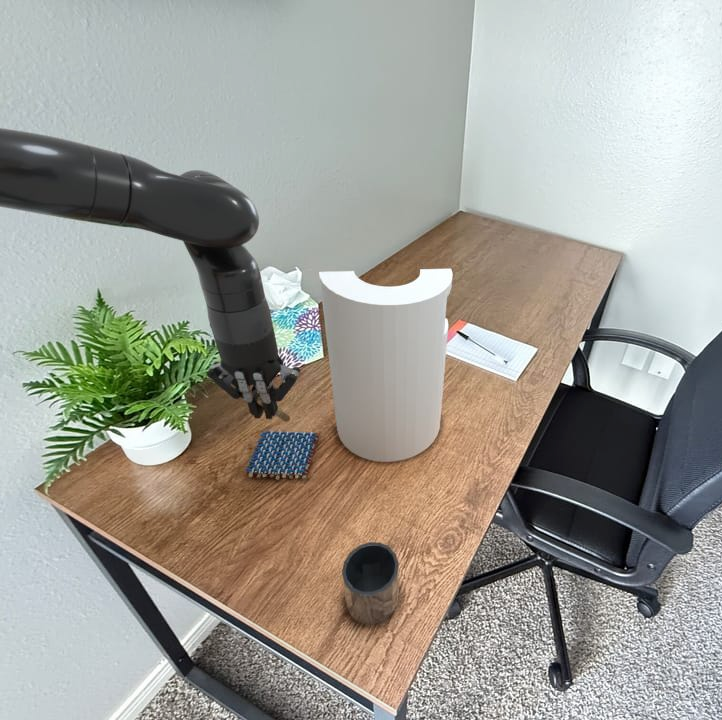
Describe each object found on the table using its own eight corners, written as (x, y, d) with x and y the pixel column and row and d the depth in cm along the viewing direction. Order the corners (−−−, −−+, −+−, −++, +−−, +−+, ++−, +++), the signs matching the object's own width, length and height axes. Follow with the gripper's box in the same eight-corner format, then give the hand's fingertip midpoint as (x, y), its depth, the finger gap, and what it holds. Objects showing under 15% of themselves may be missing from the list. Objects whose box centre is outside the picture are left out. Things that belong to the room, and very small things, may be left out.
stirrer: (284, 418, 86) (273, 364, 78) (291, 418, 86) (280, 364, 78) (269, 454, 79) (254, 400, 71) (276, 455, 80) (262, 400, 71)
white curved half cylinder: (336, 424, 94) (438, 413, 100) (338, 469, 85) (449, 453, 91) (318, 269, 72) (450, 266, 78) (319, 308, 64) (466, 301, 70)
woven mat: (307, 481, 83) (306, 474, 81) (245, 479, 82) (243, 472, 80) (320, 437, 91) (319, 430, 90) (264, 435, 90) (262, 427, 88)
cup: (395, 625, 66) (394, 596, 60) (341, 624, 65) (336, 594, 60) (400, 574, 72) (401, 543, 66) (352, 572, 71) (348, 541, 65)
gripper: (301, 315, 67) (314, 401, 78) (203, 307, 66) (230, 396, 77) (285, 346, 61) (302, 435, 72) (178, 338, 60) (211, 429, 71)
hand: (265, 414), depth 74 cm, fingers closed on stirrer, 1 cm apart
